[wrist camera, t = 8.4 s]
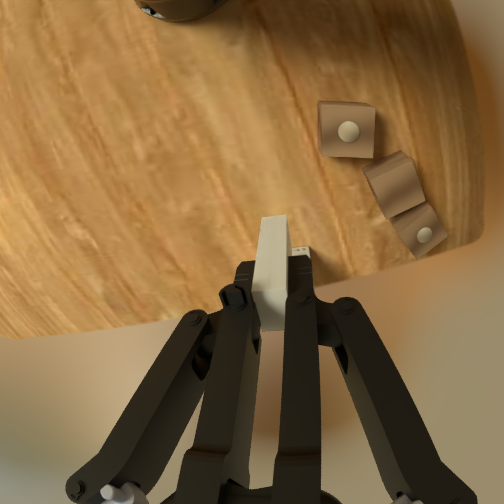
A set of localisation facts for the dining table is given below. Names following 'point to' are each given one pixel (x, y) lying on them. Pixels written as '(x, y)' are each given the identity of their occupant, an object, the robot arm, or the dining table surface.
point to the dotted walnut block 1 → (346, 129)
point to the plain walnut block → (394, 184)
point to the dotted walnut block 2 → (419, 228)
